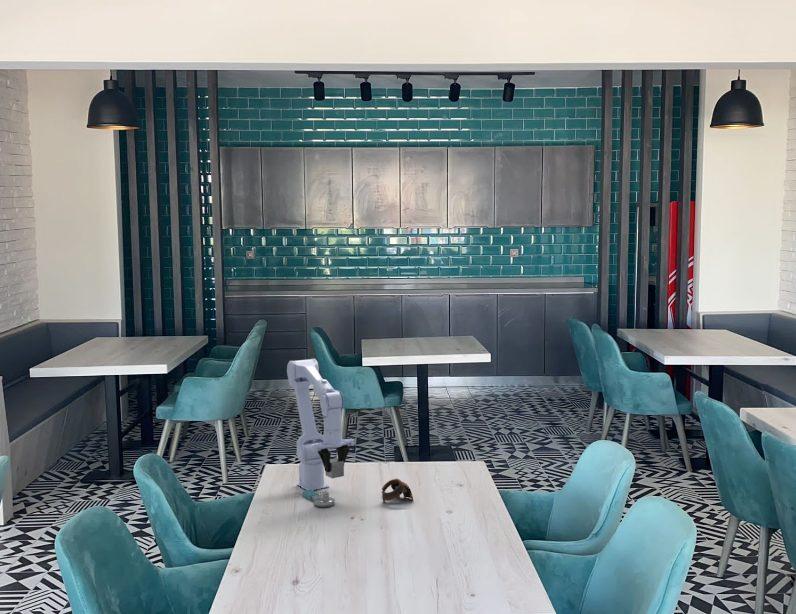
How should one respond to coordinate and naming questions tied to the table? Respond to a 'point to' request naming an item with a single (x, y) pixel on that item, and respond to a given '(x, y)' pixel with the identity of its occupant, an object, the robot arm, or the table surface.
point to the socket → (336, 468)
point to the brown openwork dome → (396, 490)
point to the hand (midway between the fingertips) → (334, 470)
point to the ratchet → (320, 498)
